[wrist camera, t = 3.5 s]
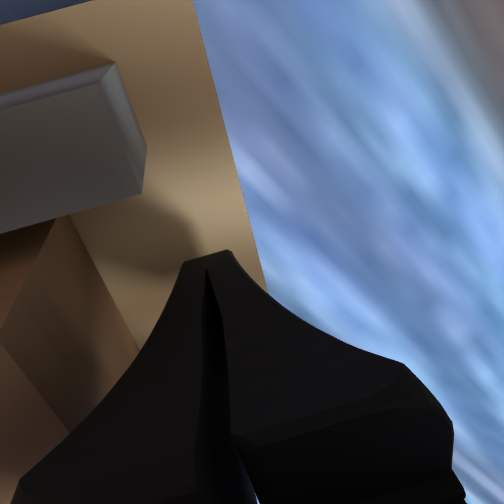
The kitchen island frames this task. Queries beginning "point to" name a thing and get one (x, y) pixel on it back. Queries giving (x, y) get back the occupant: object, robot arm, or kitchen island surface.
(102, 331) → the walnut block
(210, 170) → the chute board
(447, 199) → the kitchen island surface
